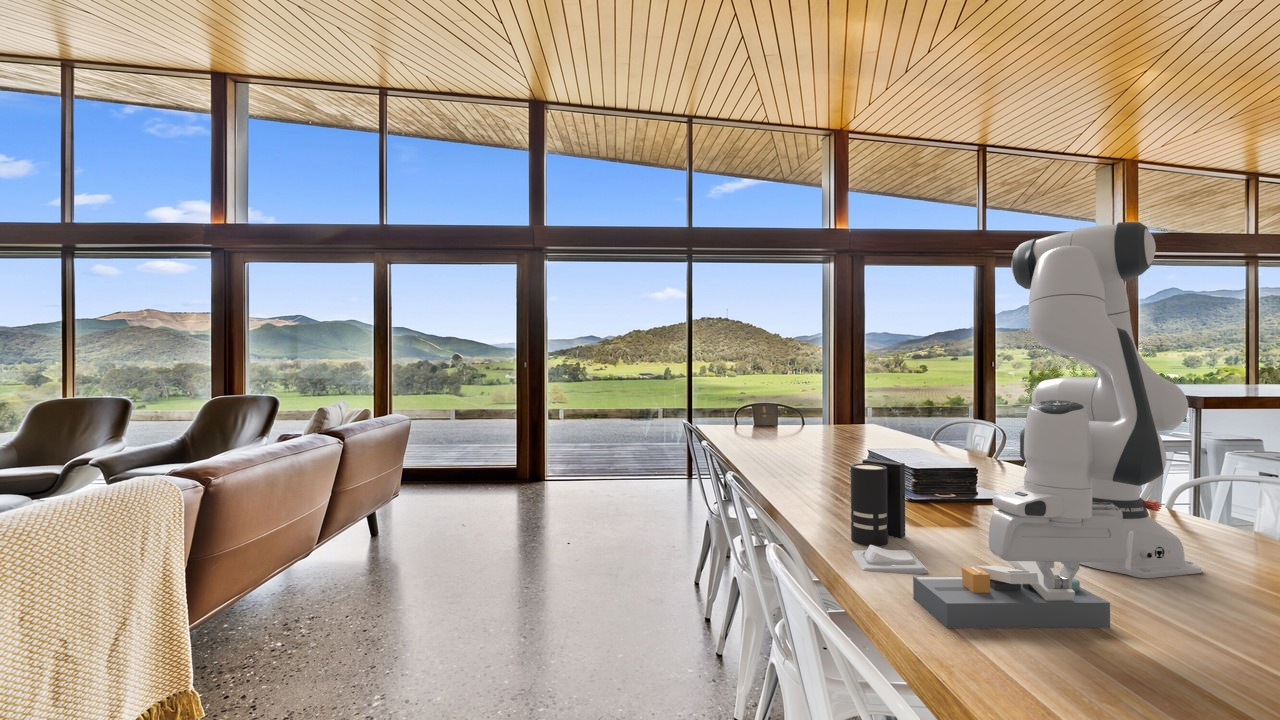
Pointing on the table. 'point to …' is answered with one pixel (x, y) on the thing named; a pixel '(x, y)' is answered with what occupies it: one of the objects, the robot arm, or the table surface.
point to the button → (1075, 585)
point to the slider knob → (976, 580)
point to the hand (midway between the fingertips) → (1057, 587)
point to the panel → (1006, 606)
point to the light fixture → (877, 502)
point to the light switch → (888, 560)
